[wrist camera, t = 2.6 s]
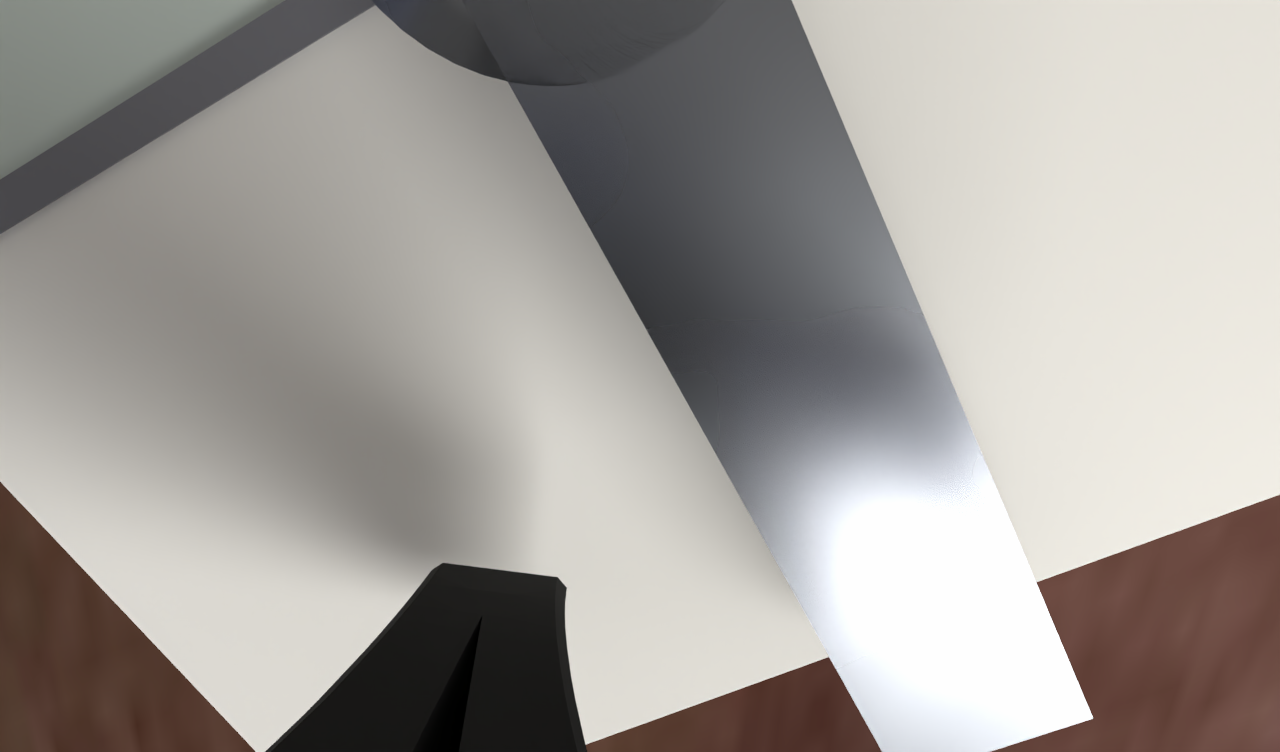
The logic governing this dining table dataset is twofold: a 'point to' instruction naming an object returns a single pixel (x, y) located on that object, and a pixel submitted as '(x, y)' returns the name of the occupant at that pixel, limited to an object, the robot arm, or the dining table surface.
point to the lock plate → (587, 323)
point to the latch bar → (788, 341)
